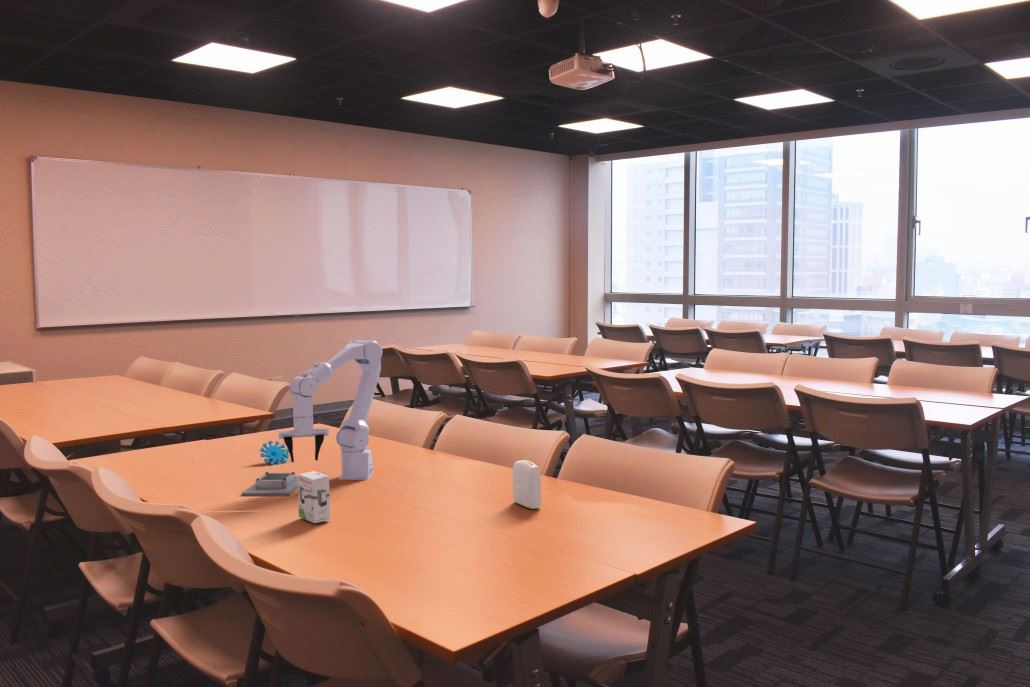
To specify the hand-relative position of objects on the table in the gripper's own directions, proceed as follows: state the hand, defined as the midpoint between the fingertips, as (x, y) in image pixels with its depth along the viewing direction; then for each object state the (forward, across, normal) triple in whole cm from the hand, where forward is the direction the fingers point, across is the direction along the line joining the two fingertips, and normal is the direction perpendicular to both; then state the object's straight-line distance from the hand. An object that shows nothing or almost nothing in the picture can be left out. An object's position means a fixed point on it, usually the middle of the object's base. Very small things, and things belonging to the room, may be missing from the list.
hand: (304, 460), depth 248 cm
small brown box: (+9, -4, +2) cm, 9 cm away
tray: (+8, +8, -5) cm, 13 cm away
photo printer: (+9, -58, +40) cm, 71 cm away
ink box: (+9, 0, +34) cm, 35 cm away
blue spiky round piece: (+10, +7, -36) cm, 37 cm away
